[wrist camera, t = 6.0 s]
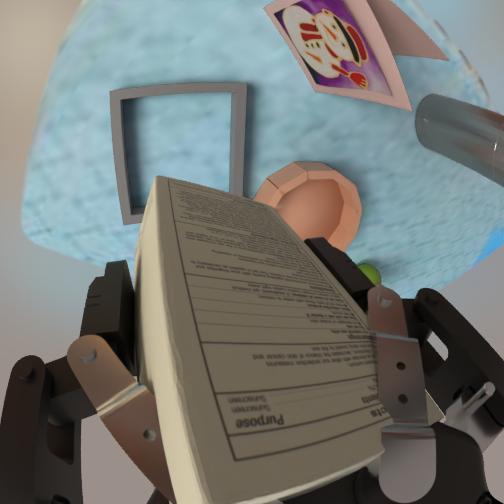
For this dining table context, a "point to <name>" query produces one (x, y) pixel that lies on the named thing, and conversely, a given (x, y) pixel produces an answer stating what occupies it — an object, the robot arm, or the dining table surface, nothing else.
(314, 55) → the greeting card
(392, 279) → the dining table surface
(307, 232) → the bowl
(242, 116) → the open rectangular frame
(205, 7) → the dining table surface
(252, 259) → the skincare box
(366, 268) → the snail figurine
